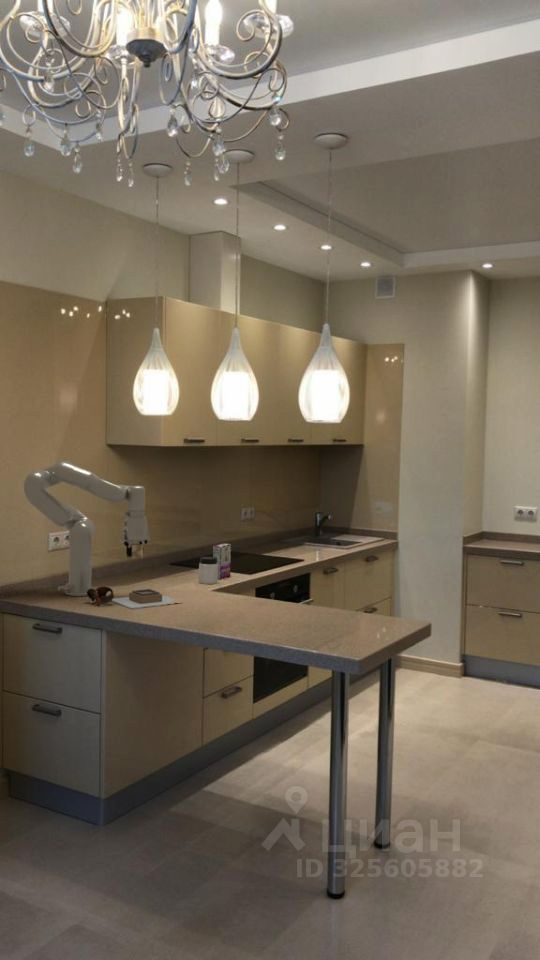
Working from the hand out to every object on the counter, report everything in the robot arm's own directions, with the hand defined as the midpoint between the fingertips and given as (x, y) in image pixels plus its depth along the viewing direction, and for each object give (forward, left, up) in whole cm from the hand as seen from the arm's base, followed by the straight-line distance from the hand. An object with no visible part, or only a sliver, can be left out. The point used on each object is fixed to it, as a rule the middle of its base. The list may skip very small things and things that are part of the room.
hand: (134, 555), depth 365 cm
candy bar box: (+60, +20, -18) cm, 66 cm away
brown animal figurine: (-21, -9, -18) cm, 29 cm away
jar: (+46, +11, -18) cm, 50 cm away
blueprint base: (-3, -15, -17) cm, 23 cm away
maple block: (0, 0, -1) cm, 1 cm away
